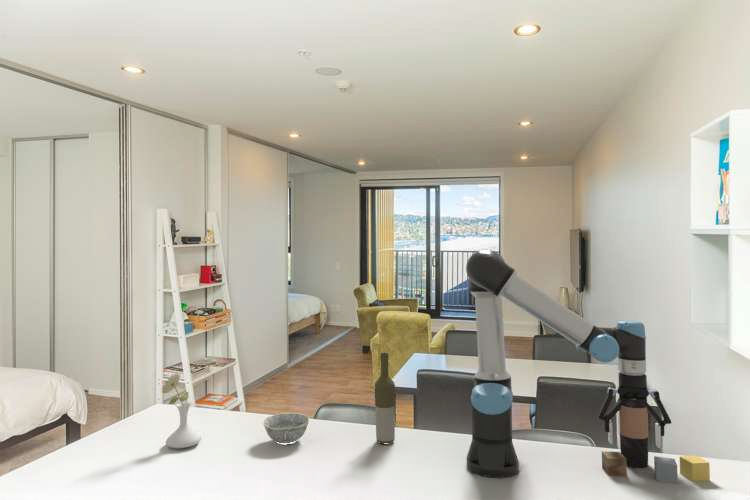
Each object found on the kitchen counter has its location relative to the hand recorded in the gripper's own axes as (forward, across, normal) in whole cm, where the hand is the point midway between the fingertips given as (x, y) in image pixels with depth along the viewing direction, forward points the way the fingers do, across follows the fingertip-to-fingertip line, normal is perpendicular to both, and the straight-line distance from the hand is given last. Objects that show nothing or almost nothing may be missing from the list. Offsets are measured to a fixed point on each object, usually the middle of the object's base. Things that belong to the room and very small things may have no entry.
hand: (634, 444), depth 148 cm
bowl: (+6, -110, -9) cm, 111 cm away
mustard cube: (+6, +14, -6) cm, 16 cm away
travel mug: (+6, 0, 0) cm, 6 cm away
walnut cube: (+6, -7, -8) cm, 12 cm away
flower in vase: (+5, -143, -21) cm, 145 cm away
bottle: (+6, -77, -1) cm, 77 cm away
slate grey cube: (+6, +6, -9) cm, 12 cm away
